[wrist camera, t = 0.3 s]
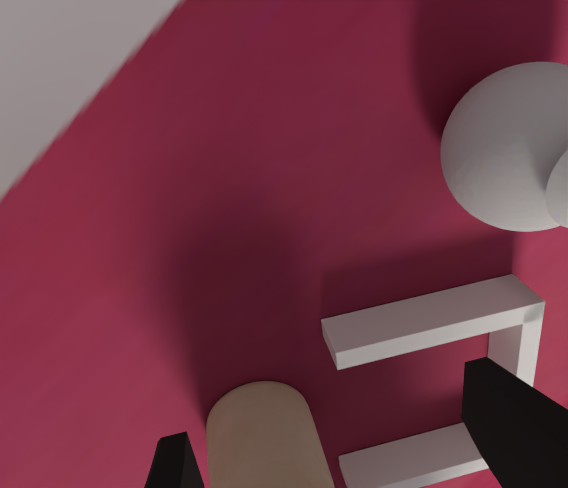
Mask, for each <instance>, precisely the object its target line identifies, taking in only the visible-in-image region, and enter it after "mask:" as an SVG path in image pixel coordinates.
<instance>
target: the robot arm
mask: <svg viewBox="0 0 568 488" xmlns="http://www.w3.org/2000/svg"><path fill="white" fill-rule="evenodd" d="M462 420H463V422H464V424H465V426H466V428H467V430H468V432H469V434H470V436H471V438H472V440H473V442H474V444H475V445H476V447H477V449H478V451H479V453H480V455H481V456H482V458H483V459H484V461H485V462H486V464H487V465H488V467H489V468H490V470H491V471H492V473H493V474H494V476H495V477H496V479H497V480H498V482H499V483H500V485H501V486H502V488H568V410H567V409H566V408H564V407H563V406H561V405H559V404H558V403H556V402H555V401H553V400H551V399H550V398H548V397H547V396H545V395H544V394H542V393H541V392H539V391H538V390H536V389H535V388H533V387H532V386H530V385H529V384H527V383H526V382H524V381H523V380H521V379H520V378H518V377H517V376H515V375H514V374H512V373H511V372H509V371H508V370H506V369H505V368H503V367H502V366H500V365H499V364H497V363H496V362H494V361H493V360H491V359H490V358H488V357H484V358H480V359H476V360H472V361H468V362H465V369H464V385H463V402H462ZM144 488H204V483H203V480H202V477H201V474H200V471H199V468H198V465H197V462H196V459H195V456H194V453H193V450H192V447H191V444H190V441H189V438H188V435H187V431H186V432H182V433H178V434H174V435H170V436H166V437H162V438H161V439H160V440H159V441H158V443H157V447H156V451H155V455H154V458H153V462H152V465H151V469H150V472H149V475H148V478H147V481H146V484H145V487H144Z"/></svg>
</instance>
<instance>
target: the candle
mask: <svg viewBox="0 0 568 488" xmlns="http://www.w3.org/2000/svg"><path fill="white" fill-rule="evenodd" d="M206 440H207V456H208V470H209V485H210V488H335V486H334V483H333V480H332V477H331V474H330V470H329V467H328V464H327V461H326V458H325V455H324V452H323V449H322V445H321V442H320V439H319V436H318V433H317V430H316V427H315V424H314V421H313V418H312V415H311V412H310V409H309V406H308V404H307V402H306V401H305V399H304V397H303V396H302V395H301V393H300V392H298V391H297V390H296V389H295V388H293V387H291V386H289V385H287V384H284V383H280V382H275V381H259V382H252V383H248V384H245V385H242V386H239V387H237V388H235V389H233V390H231V391H230V392H228V393H227V394H225V395H224V396H223V397H221V398H220V399H219V400H218V401H217V402H216V404H215V405H214V406H213V408H212V409H211V411H210V413H209V416H208V420H207V426H206Z"/></svg>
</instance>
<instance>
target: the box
mask: <svg viewBox="0 0 568 488" xmlns="http://www.w3.org/2000/svg"><path fill="white" fill-rule="evenodd" d="M544 307H545V301H544V300H543V299H542V298H541V297H539V296H538V295H537V294H536V293H535V292H533V291H532V290H531V289H530V288H529V287H528V286H526V285H525V284H524V283H523V282H522V281H520V280H519V279H518V278H517V277H516V276H514V275H513V274H510V275H506V276H501V277H497V278H493V279H489V280H485V281H480V282H476V283H472V284H468V285H464V286H460V287H455V288H451V289H447V290H443V291H439V292H434V293H430V294H426V295H422V296H418V297H413V298H409V299H405V300H401V301H397V302H392V303H388V304H384V305H380V306H376V307H371V308H367V309H363V310H359V311H355V312H350V313H346V314H342V315H338V316H334V317H330V318H325V319H321V325H322V332H323V337H324V339H325V342H326V344H327V346H328V349H329V351H330V353H331V356H332V358H333V361H334V363H335V365H336V368H337V370H340V369H344V368H348V367H352V366H356V365H360V364H364V363H368V362H372V361H376V360H380V359H384V358H388V357H392V356H396V355H400V354H404V353H408V352H412V351H416V350H420V349H424V348H428V347H432V346H436V345H440V344H444V343H448V342H452V341H456V340H460V339H464V338H468V337H472V336H476V335H480V334H484V333H488V332H490V334H489V346H488V358H490V359H491V360H493V361H494V362H496V363H497V364H499V365H500V366H502V367H503V368H505V369H506V370H508V371H509V372H511V373H512V374H514V375H515V376H517V377H518V378H520V379H521V380H523V381H524V382H526V383H527V384H529V385H530V386H532V387H533V381H534V375H535V368H536V361H537V354H538V347H539V341H540V334H541V327H542V320H543V314H544ZM338 457H339V465H340V469H341V472H342V475H343V478H344V481H345V484H346V487H347V488H420V487H423V486H427V485H430V484H434V483H437V482H441V481H444V480H448V479H451V478H455V477H458V476H462V475H466V474H469V473H473V472H476V471H480V470H483V469H487V468H489V467H488V465H487V464H486V462H485V461H484V459H483V458H482V456H481V455H480V453H479V451H478V449H477V447H476V445H475V444H474V442H473V440H472V438H471V436H470V434H469V432H468V430H467V428H466V426H465V424H464V422H463V423H459V424H455V425H452V426H448V427H444V428H440V429H437V430H433V431H429V432H426V433H422V434H418V435H414V436H411V437H407V438H403V439H400V440H396V441H392V442H389V443H385V444H381V445H377V446H374V447H370V448H366V449H363V450H359V451H355V452H352V453H348V454H344V455H340V456H338Z"/></svg>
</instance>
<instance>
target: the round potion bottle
mask: <svg viewBox="0 0 568 488" xmlns="http://www.w3.org/2000/svg"><path fill="white" fill-rule="evenodd" d="M440 160H441V167H442V172H443V176H444V179H445V181H446V183H447V186H448V188H449V190H450V192H451V193H452V195H453V196H454V198H455V199H456V200H457V202H458V203H459V204H460V205H461V206H462V207H463V208H464V209H465V210H466V211H467V212H469V213H470V214H471V215H473V216H474V217H476V218H477V219H479V220H481V221H483V222H485V223H487V224H489V225H492V226H495V227H498V228H501V229H505V230H512V231H523V232H529V231H540V230H546V229H550V228H554V227H558V226H560V225H561V226H564V227H566V228H568V65H565V64H561V63H554V62H530V63H523V64H518V65H514V66H510V67H507V68H504V69H502V70H500V71H497V72H495V73H493V74H491V75H490V76H488V77H486V78H485V79H483V80H482V81H480V82H479V83H477V84H476V85H475V86H474V87H472V88H471V89H470V90H469V91H468V92H467V93H466V94H465V95H464V96H463V97H462V99H461V100H460V101H459V102H458V104H457V105H456V106H455V108H454V110H453V111H452V113H451V115H450V117H449V119H448V121H447V123H446V126H445V128H444V132H443V135H442V140H441V149H440Z"/></svg>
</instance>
